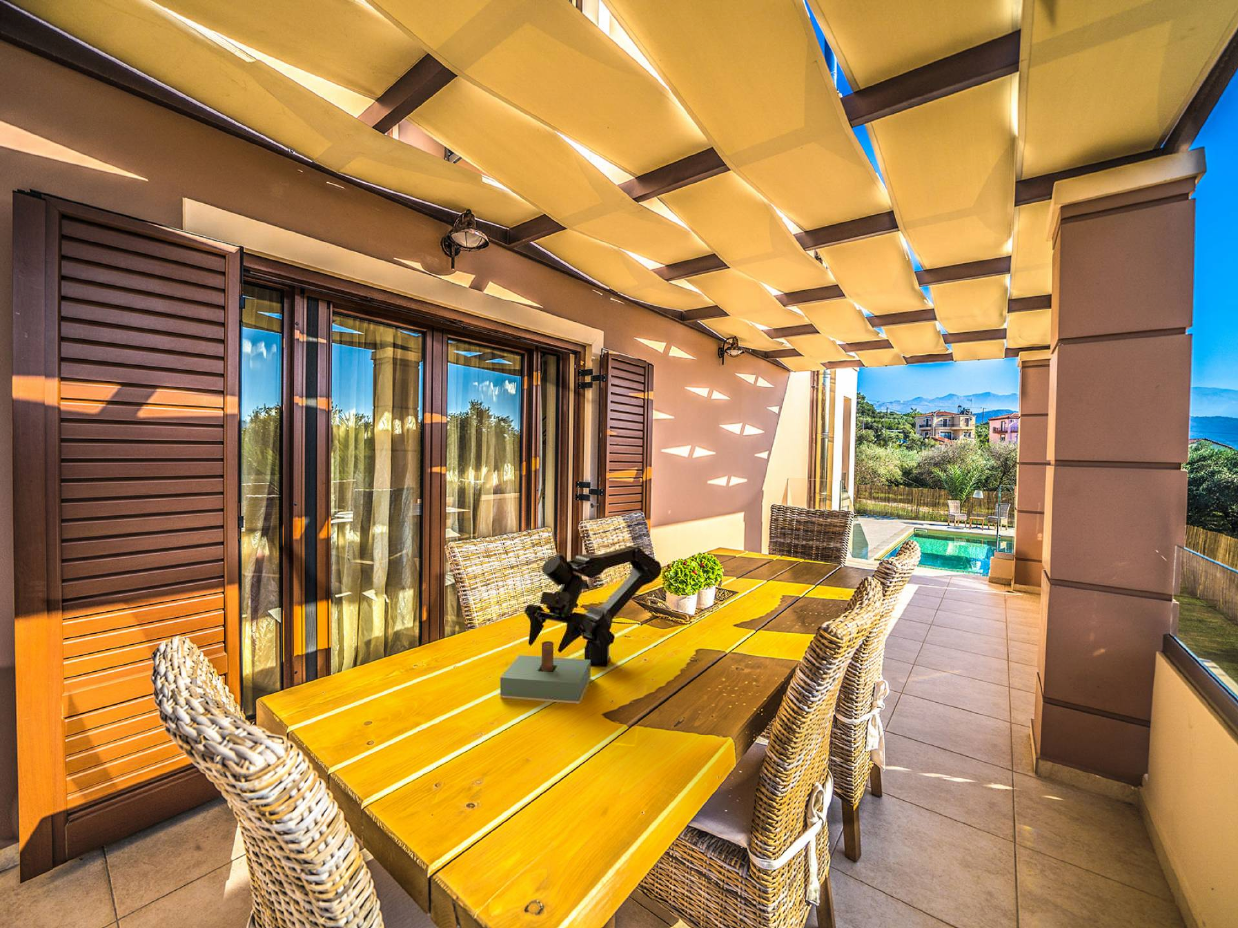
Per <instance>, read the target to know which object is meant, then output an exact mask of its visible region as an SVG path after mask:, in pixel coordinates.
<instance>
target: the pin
mask: <svg viewBox="0 0 1238 928" xmlns="http://www.w3.org/2000/svg"><path fill="white" fill-rule="evenodd" d="M541 657H542V672H553V657H554V642H553V641H551V640H550V641H549V640H546V641H542V642H541Z"/></svg>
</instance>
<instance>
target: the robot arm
mask: <svg viewBox="0 0 1238 928" xmlns="http://www.w3.org/2000/svg"><path fill="white" fill-rule="evenodd" d="M627 563H629V564H630V566H631V569H630V574H629V576H628V577H627V578H626V579H625V580H624V581H623V582H622V584H621V585H619V587H618V588H617V589H616V590H615V591H614V592H613V593H612V594H611V595H610V596H609V597H608V598H607V599H606V601H605V602H604V603H603V604H602V605H601V606H599V607H594V606H590V607H589V608H588V609H587V610H586V612H585V613H580V612H575V611H574V609H578V607H579V604H578V601H579V597H580V596H581V594H582V592H583V590H590V585H589V583H588V579H584V578H583V577H586V578H589V579H593V578H596V577H597V576H599V575H601V574H603V572H604V571H605V570H607V569H611V568H612V567H616V566H619V565H624V564H627ZM541 572H542V573H543V574H544V575H545V576H546V577H547V578H548V579H550V581H551V582H553V584H555V586H560V588H559V591H555V592H549V591H542V594H541V597H540V601H539V605H537V604H533V603H529V604H527V605H526V607H525V609H524V611H523V613H524V614H525V615H526V617H527V618H528V620H529V622H530V623H529V624H530V625H529V636H528V641H527V643H528V644H527V645H529V646H531V647H532V645H533V644H534V643H535V642H536V640H537V638H538V636H539V635H540V633H541V632H542V630H543V629H544V627H545V625H544V624H545V623H546V622H547V621H552V622H556V623H562V624H566V629H565V631H564V635H563V636H562V637H561V641H560V643H559V645H558V648H557V652H558V653H561V652H563V651H564V650H565V649H566V648H567V647H568V646H570V645H571V644H572V643H573V642H575V640H577V639H578V638H580V637H582V639H583V640H586V644H585V645H584V654H583V655H584V659H585V660H591V667H600V668H601V667H602V668H607V667H608V666H609V664H610V663H609V662H610V660H611V656H610V646H611V645H612V644H614V642H615V637H616V636H615V635H614V633H612V631H611V628H612V624H613V619H614V618H615V617H616V616H617V615H618V614H619V612H620V611H621V610H622V609H623V608H624V607H625V606H626V605H627V603H629V601H630V600H631V599H632V598H633V597H634V596H635V595H636V594H637V592H639V591H640V589H641V588H642V587H644V586H646V585H649V584H651V583H653V582H654V581H655V580H657V579H658V578H659V577H660V575H661V574H662V565H661V563H660V561H658V560H657V559H654V557H652V556H650V555H649V554H647V553H646V551H645V552H644V550H643V549H642V548H640V547H638V546H633V545H628V546H626V547H623V548H620V549H615V550H612V551H608V552H604V553H600V554H594V553H593V554H591V553H584V554H583V553H582V554H580V553H579V554H578V555H576V556H575V557H574V558H573V559H570V560H567V559H566V557H565V556H564V555H563V554H562V553H556V555H555V556H552V557H550V558H549V559H548V560H547V561H545V562H544V563H543V565H542V568H541ZM582 576H583V577H582ZM541 605H545V608H546V610H548V611H545V609H544V608H543V607H542V606H541Z"/></svg>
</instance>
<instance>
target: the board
mask: <svg viewBox="0 0 1238 928" xmlns="http://www.w3.org/2000/svg"><path fill="white" fill-rule="evenodd" d="M591 667H592V666H591V660H585V659H582V658H570V657H568V658H567V657H555V656H553V672H542V656H541V655H539V656H537V655H526V654H525V655H522V654H519V655H518V656H517V657H516V658H515V659H514V661H513V662H512V663H511V664H510V665H509V667H507V669H506V670H505V672H504V673H502V674H501V676H500V677H499V678H500V685H499V687H500V688H499V689H500V692H499V693H500V694H499V695H500V696H499V697H500V698H503V699H516V700H528V701H540V702H554V703H555V702H556V703H566V704H576V705H577V704H580V703H581V702H582V698H583V697H584V694H585V692H586V689H587V687H588V685H589V682H590V680H591V670H592V669H591Z"/></svg>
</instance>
